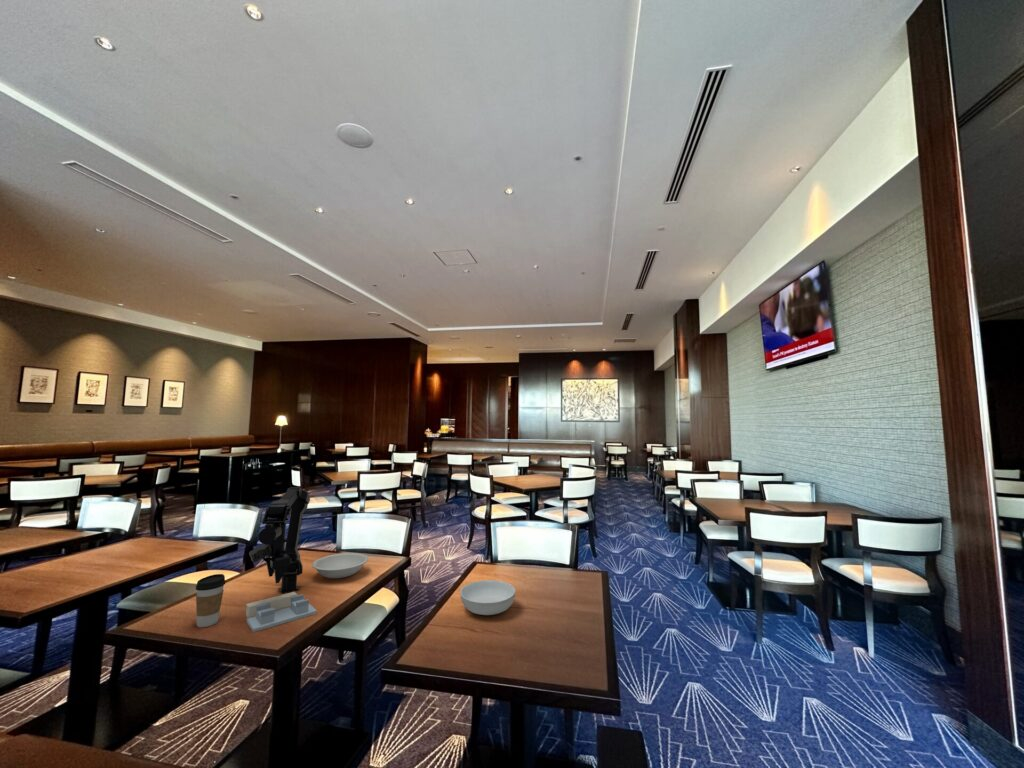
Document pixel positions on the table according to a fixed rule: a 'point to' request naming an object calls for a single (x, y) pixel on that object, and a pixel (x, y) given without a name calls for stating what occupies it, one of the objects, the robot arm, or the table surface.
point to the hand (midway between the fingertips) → (274, 579)
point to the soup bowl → (340, 564)
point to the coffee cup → (209, 599)
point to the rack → (280, 614)
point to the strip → (275, 602)
